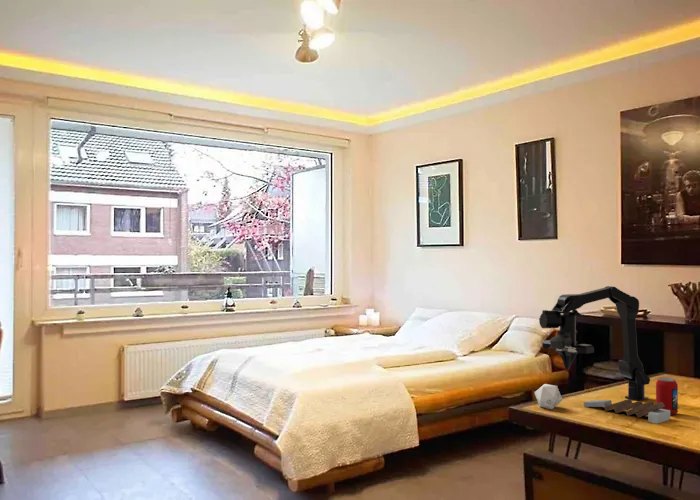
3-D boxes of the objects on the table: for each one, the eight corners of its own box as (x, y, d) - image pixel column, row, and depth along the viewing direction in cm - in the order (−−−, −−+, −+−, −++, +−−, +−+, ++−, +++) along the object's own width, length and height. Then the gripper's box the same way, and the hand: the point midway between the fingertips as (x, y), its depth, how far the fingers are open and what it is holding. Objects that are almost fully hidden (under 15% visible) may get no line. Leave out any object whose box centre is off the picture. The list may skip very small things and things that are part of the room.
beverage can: (680, 416, 209) (680, 381, 209) (659, 415, 211) (659, 380, 211) (674, 411, 216) (674, 377, 216) (653, 410, 217) (653, 376, 217)
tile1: (603, 406, 216) (623, 400, 211) (611, 404, 219) (630, 398, 214) (605, 411, 216) (625, 405, 210) (613, 409, 219) (632, 403, 213)
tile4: (635, 413, 207) (654, 403, 202) (642, 411, 210) (662, 401, 205) (638, 418, 207) (657, 408, 201) (645, 415, 210) (665, 406, 204)
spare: (583, 402, 223) (603, 402, 216) (591, 400, 226) (611, 400, 219) (584, 406, 222) (604, 406, 216) (591, 404, 225) (612, 404, 219)
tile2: (613, 408, 213) (633, 402, 208) (621, 406, 216) (641, 400, 211) (615, 413, 213) (635, 407, 207) (623, 411, 216) (643, 405, 210)
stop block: (661, 417, 207) (661, 408, 207) (670, 419, 205) (670, 410, 205) (648, 421, 202) (648, 412, 202) (657, 423, 199) (657, 414, 199)
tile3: (625, 411, 210) (645, 402, 205) (633, 409, 213) (652, 400, 208) (628, 415, 209) (647, 407, 204) (635, 413, 212) (655, 405, 207)
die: (540, 412, 216) (558, 391, 214) (525, 395, 224) (542, 375, 221) (553, 417, 221) (571, 397, 219) (539, 401, 228) (556, 381, 226)
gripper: (533, 327, 233) (533, 367, 233) (577, 331, 218) (577, 375, 218) (550, 325, 240) (550, 365, 240) (594, 330, 225) (594, 372, 225)
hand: (567, 369), depth 230 cm, fingers closed
